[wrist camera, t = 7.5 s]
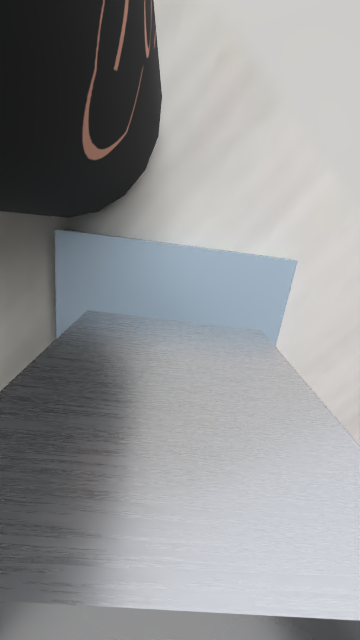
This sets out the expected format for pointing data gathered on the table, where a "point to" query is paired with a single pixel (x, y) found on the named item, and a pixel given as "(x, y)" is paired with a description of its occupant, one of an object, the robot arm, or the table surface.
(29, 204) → the coffee jar
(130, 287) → the blue base with peg
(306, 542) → the square metal tube
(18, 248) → the table surface
